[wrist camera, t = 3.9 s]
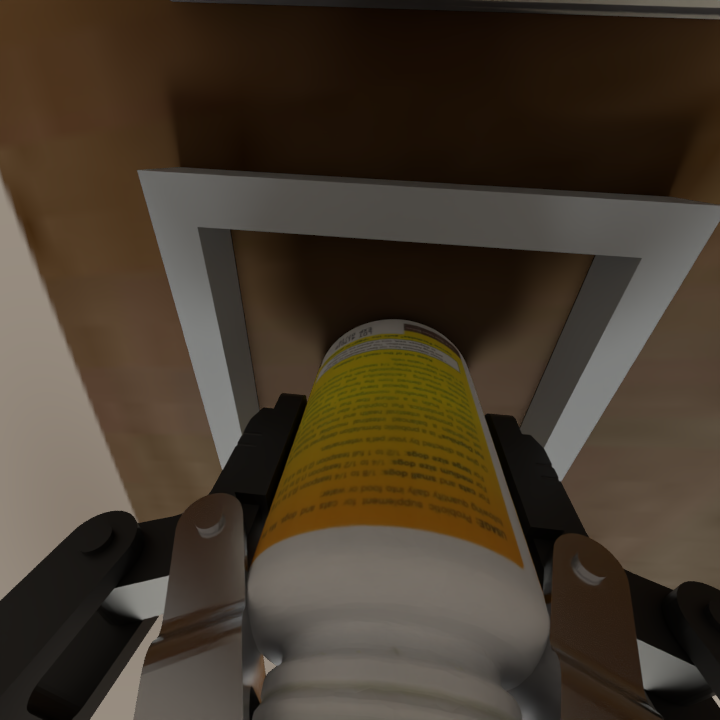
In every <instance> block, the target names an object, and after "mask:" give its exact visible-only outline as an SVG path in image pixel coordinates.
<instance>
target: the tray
mask: <svg viewBox="0 0 720 720" xmlns="http://www.w3.org/2000/svg"><path fill="white" fill-rule="evenodd" d="M137 171H138V175H139V178H140V182H141V185H142V189H143V192H144V196H145V199H146V203H147V206H148V210H149V214H150V217H151V221H152V224H153V228H154V231H155V235H156V238H157V242H158V245H159V249H160V252H161V256H162V259H163V263H164V266H165V270H166V273H167V277H168V281H169V284H170V288H171V291H172V295H173V298H174V302H175V305H176V309H177V312H178V316H179V319H180V323H181V326H182V330H183V333H184V337H185V340H186V344H187V348H188V351H189V355H190V358H191V362H192V365H193V369H194V372H195V376H196V379H197V383H198V386H199V390H200V393H201V397H202V400H203V404H204V408H205V411H206V415H207V418H208V422H209V425H210V429H211V432H212V436H213V439H214V443H215V446H216V450H217V453H218V457H219V460H220V464H221V467H222V470H223V468H224V467H225V465H226V463H227V461H228V459H229V457H230V456H231V454H232V452H233V450H234V448H235V446H237V443H238V441H239V439H240V437H241V435H242V434H243V433H244V430H245V428H246V426H247V424H248V423H249V421H250V419H251V418H252V417H253V416H254V415H255V414H257V413H258V412H259V405H258V399H257V393H256V386H255V380H254V374H253V368H252V362H251V356H250V349H249V343H248V337H247V331H246V325H245V319H244V313H243V306H242V300H241V294H240V288H239V282H238V276H237V270H236V263H235V257H234V251H233V245H232V239H231V233H230V229H235V230H249V231H263V232H277V233H292V234H306V235H320V236H335V237H349V238H363V239H377V240H392V241H406V242H420V243H435V244H449V245H463V246H477V247H492V248H506V249H520V250H535V251H549V252H563V253H577V254H592V255H596V256H595V258H594V260H593V262H592V265H591V267H590V269H589V272H588V274H587V276H586V278H585V281H584V283H583V285H582V288H581V290H580V292H579V294H578V297H577V299H576V301H575V304H574V306H573V308H572V311H571V313H570V315H569V317H568V320H567V322H566V324H565V327H564V329H563V331H562V333H561V336H560V338H559V340H558V343H557V345H556V347H555V349H554V352H553V354H552V356H551V359H550V361H549V363H548V365H547V368H546V370H545V372H544V375H543V377H542V379H541V381H540V384H539V386H538V388H537V391H536V393H535V395H534V398H533V400H532V402H531V404H530V407H529V409H528V411H527V414H526V416H525V418H524V420H523V423H522V425H521V427H520V430H521V433H522V434H527V435H531V436H532V437H533V438H534V439H535V440H536V441H537V442H538V443H539V444H540V445H541V446H542V447H543V448H544V449H545V451H546V453H547V455H548V457H549V459H550V461H551V463H552V468H554V469H555V471H556V473H557V475H558V477H559V478H558V480H559V481H562V479H563V478H564V476H565V474H566V473H567V471H568V469H569V468H570V466H571V464H572V463H573V461H574V460H575V458H576V456H577V455H578V453H579V451H580V450H581V448H582V446H583V445H584V443H585V441H586V440H587V438H588V436H589V435H590V433H591V432H592V430H593V428H594V427H595V425H596V423H597V422H598V420H599V418H600V417H601V415H602V413H603V412H604V410H605V408H606V407H607V405H608V404H609V402H610V400H611V399H612V397H613V395H614V394H615V392H616V390H617V389H618V387H619V385H620V384H621V382H622V381H623V379H624V377H625V376H626V374H627V372H628V371H629V369H630V367H631V366H632V364H633V362H634V361H635V359H636V357H637V356H638V354H639V353H640V351H641V349H642V348H643V346H644V344H645V343H646V341H647V339H648V338H649V336H650V334H651V333H652V331H653V329H654V328H655V326H656V325H657V323H658V321H659V320H660V318H661V316H662V315H663V313H664V311H665V310H666V308H667V306H668V305H669V303H670V302H671V300H672V298H673V297H674V295H675V293H676V292H677V290H678V288H679V287H680V285H681V283H682V282H683V280H684V278H685V277H686V275H687V274H688V272H689V270H690V269H691V267H692V265H693V264H694V262H695V260H696V259H697V257H698V255H699V254H700V252H701V250H702V249H703V247H704V246H705V244H706V242H707V241H708V239H709V237H710V236H711V234H712V232H713V231H714V229H715V227H716V226H717V224H718V223H719V221H720V205H717V204H711V203H705V202H699V201H693V200H687V199H681V198H674V197H666V196H649V195H633V194H616V193H600V192H583V191H566V190H550V189H533V188H517V187H500V186H483V185H467V184H450V183H434V182H417V181H400V180H384V179H367V178H351V177H334V176H317V175H301V174H284V173H268V172H251V171H234V170H218V169H201V168H185V167H175V168H161V169H147V170H137Z"/></svg>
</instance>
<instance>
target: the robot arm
mask: <svg viewBox="0 0 720 720" xmlns="http://www.w3.org/2000/svg"><path fill="white" fill-rule="evenodd" d="M306 405H307V399H306V396H305V395H297V394H287V393H282V394H281V395H280V397H279V399H278V401H277V403H276V405H275V407H274V409H272V408H262V409H261V410H260V411H259V412H258V413H257V414H255V415H254V416H253V417H252V418H251V419H250V421H249V423H248V424H247V426H246V428H245V430H244V433H243V434H242V435H241V437H240V439H239V441H238V443H237V446H235V448H234V450H233V452H232V454H231V456H230V457H229V459H228V461H227V463H226V465H225V467H224V468H223V470H222V472H221V474H220V476H219V478H218V480H217V481H216V483H215V485H214V487H213V489H212V490H211V492H210V493H209V495H207V496H204V497H202V498H200V499H198V500H197V501H195V502H194V503H193V504H191V505H190V506H189V507H188V508H187V509H186V510H185V511H184V513H182V514H180V515H176V516H173V517H168V518H163V519H157V520H152V521H147V522H142V523H137V521H136V520H135V518H134V516H132V515H131V514H130V513H127V512H124V511H110V512H106V513H103V514H100V515H97V516H95V517H93V518H91V519H89V520H88V521H86V522H84V523H83V524H81V525H80V526H79V527H77V528H76V529H75V530H74V531H73V532H72V533H71V534H70V535H69V536H68V537H67V538H66V539H64V540H63V541H62V542H61V543H60V544H59V545H58V546H57V547H56V548H55V549H54V550H53V551H52V552H51V553H50V554H49V555H48V556H47V557H46V558H45V559H44V560H42V561H41V562H40V563H39V564H38V565H37V566H36V567H35V568H34V569H33V570H32V571H31V572H30V573H29V574H28V575H27V576H26V577H25V578H24V579H23V580H22V581H21V582H19V583H18V584H17V585H16V586H15V587H14V588H13V589H12V590H11V591H10V592H9V593H8V594H7V595H6V596H5V597H4V598H3V599H2V600H1V601H0V720H90V718H91V717H92V716H93V714H94V712H95V711H96V709H97V708H98V706H99V705H100V704H101V702H102V700H103V699H104V698H105V696H106V695H107V693H108V692H109V690H110V688H111V687H112V686H113V684H114V683H115V681H116V680H117V678H118V677H119V675H120V674H121V672H122V671H123V669H124V668H125V666H126V665H127V663H128V662H129V660H130V658H131V657H132V656H133V654H134V653H135V651H136V650H137V648H138V647H139V645H140V643H141V642H142V641H143V639H144V637H145V636H146V634H147V633H148V631H149V630H150V629H151V627H152V625H153V624H154V623H155V621H156V620H157V618H158V617H159V615H162V614H164V615H163V622H162V627H161V631H160V634H159V636H158V638H157V639H156V640H154V641H153V642H152V643H151V645H150V647H149V649H148V651H147V654H146V657H145V660H144V664H143V668H142V673H141V679H140V684H139V690H138V696H137V702H136V708H135V714H134V720H252V717H253V713H254V711H255V710H256V709H257V707H258V706H259V705H260V704H261V692H262V686H263V682H264V679H265V677H266V673H265V666H264V657H263V655H262V654H261V653H260V652H259V651H258V649H257V646H256V643H255V640H254V638H253V635H252V630H251V625H250V620H249V614H248V607H247V597H246V582H247V575H248V572H249V568H250V565H251V562H252V559H253V556H254V553H255V551H256V548H257V545H258V542H259V539H260V536H261V533H262V531H263V528H264V525H265V522H266V519H267V517H268V514H269V511H270V508H271V505H272V502H273V499H274V496H275V493H276V490H277V488H278V485H279V482H280V479H281V477H282V474H283V471H284V468H285V465H286V462H287V459H288V456H289V453H290V450H291V448H292V445H293V442H294V439H295V436H296V433H297V430H298V428H299V425H300V422H301V419H302V416H303V413H304V410H305V407H306ZM485 420H486V422H487V425H488V428H489V431H490V435H491V437H492V440H493V443H494V446H495V449H496V452H497V455H498V458H499V461H500V464H501V468H502V471H503V474H504V477H505V480H506V483H507V486H508V489H509V492H510V495H511V497H512V500H513V503H514V506H515V509H516V512H517V515H518V518H519V521H520V524H521V527H522V530H523V533H524V536H525V539H526V542H527V545H528V548H529V551H530V554H531V557H532V560H533V563H534V566H535V569H536V573H537V576H538V579H539V582H540V585H541V588H542V591H543V594H544V599H545V603H546V607H547V611H548V614H549V620H550V630H549V636H548V641H547V645H546V647H545V650H544V653H543V654H542V656H541V659H540V661H539V663H538V664H537V666H536V667H535V669H534V671H533V672H532V674H531V675H530V676H528V677H527V678H526V679H525V680H524V681H523V682H522V683H521V684H520V685H519V686H517V687H515V688H513V689H510V690H508V691H507V692H508V693H509V694H510V695H511V696H513V697H514V699H515V700H516V701H517V703H518V705H519V707H520V709H521V714H522V720H720V708H719V707H718V705H717V703H716V702H715V701H714V699H713V698H712V696H714V695H716V696H717V697H718V698H719V700H720V590H718V589H716V588H714V587H712V586H709V585H707V584H704V583H700V582H695V581H688V582H684V583H682V584H681V585H679V586H678V587H677V588H676V589H674V590H672V589H669V588H667V587H665V586H662V585H660V584H657V583H655V582H653V581H650V580H648V579H645V578H643V577H640V576H638V575H636V574H633V573H631V572H629V571H627V570H625V569H623V568H622V566H621V564H620V563H619V562H618V560H617V559H616V558H615V557H614V556H613V555H612V554H611V553H610V552H609V551H608V550H607V549H606V548H605V547H603V546H602V545H601V544H599V543H598V542H596V541H594V540H592V539H591V538H589V537H588V535H587V533H586V531H585V529H584V527H583V525H582V523H581V521H580V519H579V517H578V515H577V513H576V511H575V509H574V507H573V505H572V503H571V501H570V499H569V497H568V495H567V493H566V491H565V489H564V487H563V485H562V483H561V481H559V480H558V478H559V477H558V475H557V473H556V471H555V469H554V468H552V463H551V461H550V459H549V457H548V455H547V453H546V451H545V449H544V448H543V447H542V446H541V445H540V444H539V443H538V442H537V441H536V440H535V439H534V438H533V437H532V436H531V435H527V434H522V433H521V430H520V428H519V426H518V424H517V421H516V419H515V418H514V417H513V416H509V415H498V414H486V415H485Z"/></svg>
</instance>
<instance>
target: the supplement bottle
mask: <svg viewBox="0 0 720 720" xmlns="http://www.w3.org/2000/svg"><path fill="white" fill-rule="evenodd" d="M246 597H247V607H248V614H249V620H250V625H251V630H252V635H253V638H254V640H255V643H256V646H257V649H258V651H259V652H260V653H261V654H262V655H263V656H265V657H266V658H267V659H268V660H269V661H271V662H272V663H273V664H275V665H277V666H276V667H275V668H274V669H272V670H271V671H270V672H269V673H268V674H267V675H266V677H265V679H264V682H263V686H262V692H261V704H260V705H259V706H258V707H257V709H256V710H255V711H254V713H253V717H252V720H522V714H521V709H520V707H519V705H518V703H517V701H516V700H515V699H514V697H513V696H511V695H510V694H509V693H508V692H507V691H508V690H510V689H513V688H515V687H517V686H519V685H520V684H521V683H522V682H523V681H524V680H525V679H526V678H527V677H528V676H530V675H531V674H532V672H533V671H534V669H535V667H536V666H537V664H538V663H539V661H540V659H541V656H542V654H543V653H544V650H545V647H546V645H547V641H548V636H549V630H550V620H549V614H548V611H547V607H546V603H545V599H544V594H543V591H542V588H541V585H540V582H539V579H538V576H537V573H536V569H535V566H534V563H533V560H532V557H531V554H530V551H529V548H528V545H527V542H526V539H525V536H524V533H523V530H522V527H521V524H520V521H519V518H518V515H517V512H516V509H515V506H514V503H513V500H512V497H511V495H510V492H509V489H508V486H507V483H506V480H505V477H504V474H503V471H502V468H501V464H500V461H499V458H498V455H497V452H496V449H495V446H494V443H493V440H492V437H491V435H490V431H489V428H488V425H487V422H486V420H485V417H484V414H483V411H482V408H481V405H480V402H479V399H478V396H477V393H476V390H475V387H474V384H473V381H472V378H471V375H470V373H469V370H468V367H467V365H466V362H465V360H464V358H463V356H462V355H461V353H460V352H459V350H458V349H457V348H456V346H455V345H454V344H453V343H452V342H451V341H450V340H448V339H447V338H446V337H445V336H444V335H442V334H441V333H439V332H438V331H436V330H434V329H432V328H430V327H428V326H426V325H423V324H420V323H417V322H413V321H409V320H401V319H386V320H378V321H373V322H369V323H366V324H363V325H360V326H358V327H356V328H354V329H352V330H350V331H349V332H347V333H345V334H344V335H343V336H342V337H340V338H339V339H338V340H337V341H336V342H335V343H334V344H333V345H332V346H331V348H330V349H329V350H328V352H327V353H326V355H325V357H324V359H323V361H322V363H321V365H320V368H319V371H318V373H317V376H316V379H315V382H314V385H313V388H312V390H311V393H310V396H309V399H308V402H307V405H306V407H305V410H304V413H303V416H302V419H301V422H300V425H299V428H298V430H297V433H296V436H295V439H294V442H293V445H292V448H291V450H290V453H289V456H288V459H287V462H286V465H285V468H284V471H283V474H282V477H281V479H280V482H279V485H278V488H277V490H276V493H275V496H274V499H273V502H272V505H271V508H270V511H269V514H268V517H267V519H266V522H265V525H264V528H263V531H262V533H261V536H260V539H259V542H258V545H257V548H256V551H255V553H254V556H253V559H252V562H251V565H250V568H249V572H248V575H247V582H246Z"/></svg>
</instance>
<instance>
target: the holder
mask: <svg viewBox="0 0 720 720" xmlns="http://www.w3.org/2000/svg"><path fill="white" fill-rule="evenodd" d="M170 1H173V2H204V3H235V4H265V5H296V6H327V7H357V8H388V9H419V10H450V11H480V12H511V13H542V14H572V15H603V16H634V17H664V18H695V19H720V0H170Z"/></svg>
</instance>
